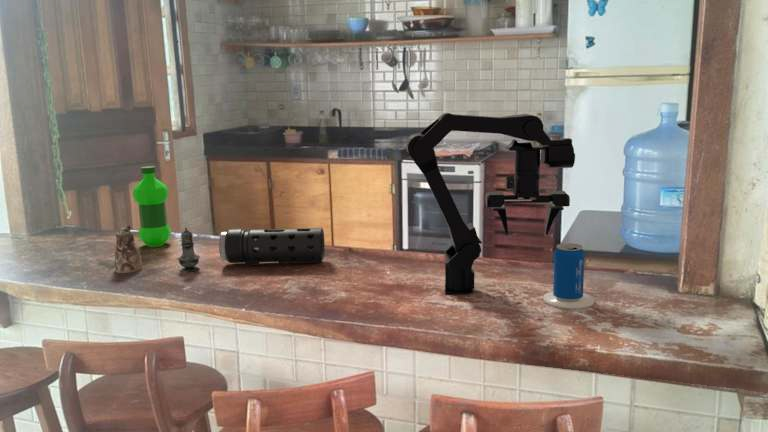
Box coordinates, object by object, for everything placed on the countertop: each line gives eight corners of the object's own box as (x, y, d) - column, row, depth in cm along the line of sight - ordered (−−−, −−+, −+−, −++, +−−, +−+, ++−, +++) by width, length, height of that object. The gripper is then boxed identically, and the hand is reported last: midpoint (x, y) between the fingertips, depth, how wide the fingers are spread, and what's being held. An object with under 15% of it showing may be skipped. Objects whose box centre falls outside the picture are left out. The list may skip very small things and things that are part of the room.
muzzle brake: (321, 268, 180) (319, 231, 178) (219, 270, 181) (216, 233, 179) (325, 258, 190) (323, 223, 187) (228, 260, 190) (225, 225, 188)
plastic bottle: (162, 249, 205) (154, 169, 200) (132, 248, 207) (123, 169, 202) (179, 241, 214) (171, 165, 209) (150, 240, 217) (142, 164, 212)
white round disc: (547, 309, 144) (547, 306, 144) (540, 292, 154) (540, 290, 154) (599, 309, 143) (599, 306, 143) (588, 292, 153) (588, 290, 153)
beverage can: (567, 304, 144) (569, 251, 142) (547, 296, 150) (548, 245, 147) (589, 299, 147) (591, 247, 145) (568, 291, 153) (569, 241, 150)
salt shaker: (187, 274, 177) (183, 231, 175) (174, 271, 181) (170, 228, 178) (205, 269, 182) (201, 226, 179) (192, 266, 185) (188, 224, 183)
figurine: (109, 272, 182) (104, 229, 179) (126, 264, 188) (122, 223, 186) (130, 273, 180) (125, 230, 177) (147, 266, 186) (143, 225, 184)
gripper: (562, 164, 160) (560, 226, 163) (484, 165, 161) (484, 227, 165) (571, 170, 149) (569, 237, 152) (487, 171, 150) (487, 238, 154)
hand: (526, 234), depth 156 cm, fingers open, 9 cm apart
